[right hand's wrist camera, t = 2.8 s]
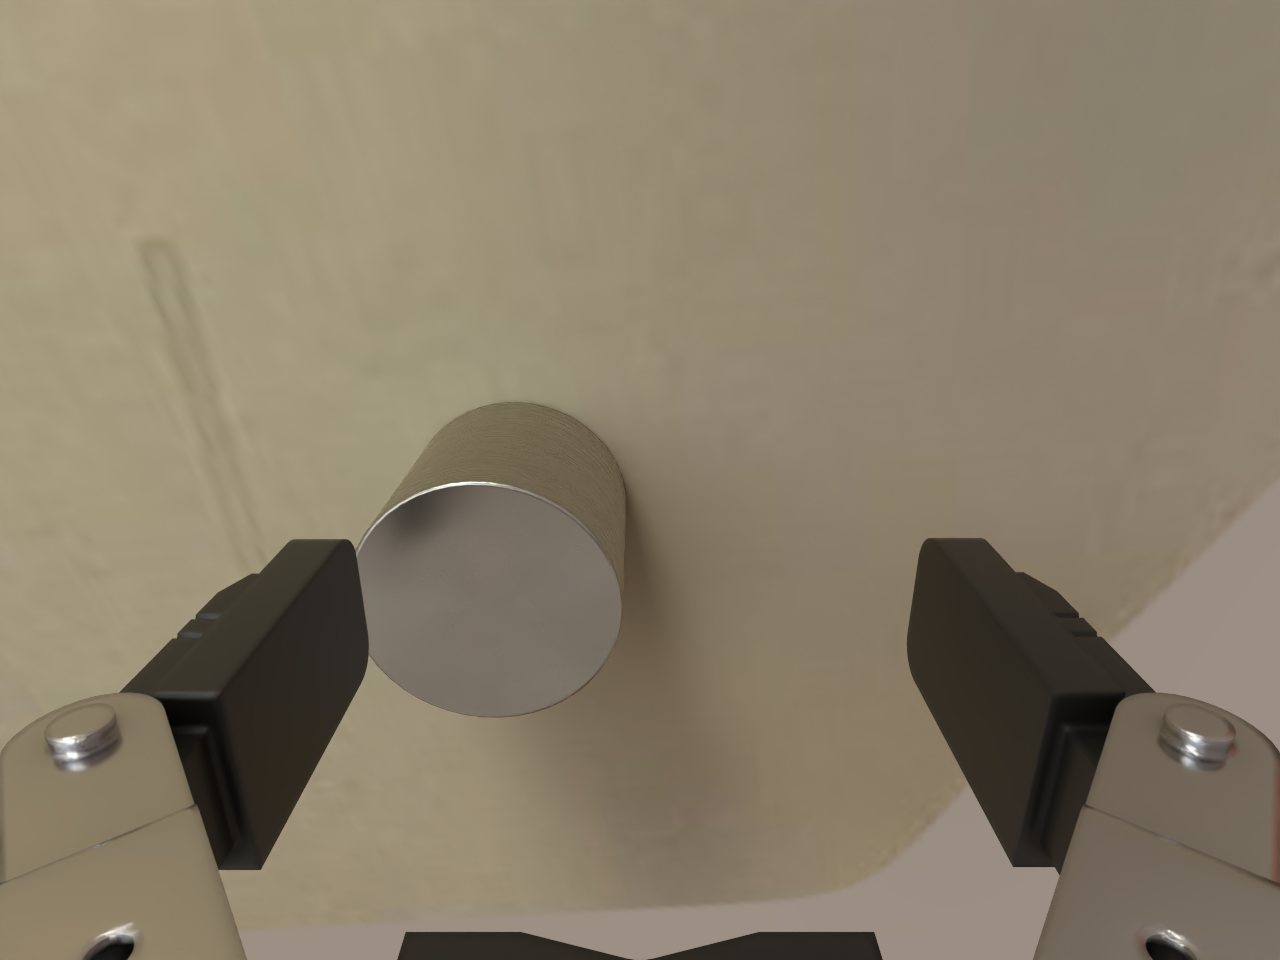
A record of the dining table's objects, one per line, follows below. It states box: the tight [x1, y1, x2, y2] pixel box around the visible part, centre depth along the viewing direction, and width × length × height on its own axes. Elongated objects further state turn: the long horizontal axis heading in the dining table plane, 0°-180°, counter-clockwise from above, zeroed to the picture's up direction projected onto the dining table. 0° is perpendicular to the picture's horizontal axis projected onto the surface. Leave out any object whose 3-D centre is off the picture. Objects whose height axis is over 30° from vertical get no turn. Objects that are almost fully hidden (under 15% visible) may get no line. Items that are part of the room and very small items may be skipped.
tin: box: [355, 402, 626, 717], centre depth 15 cm, size 5×5×4 cm
